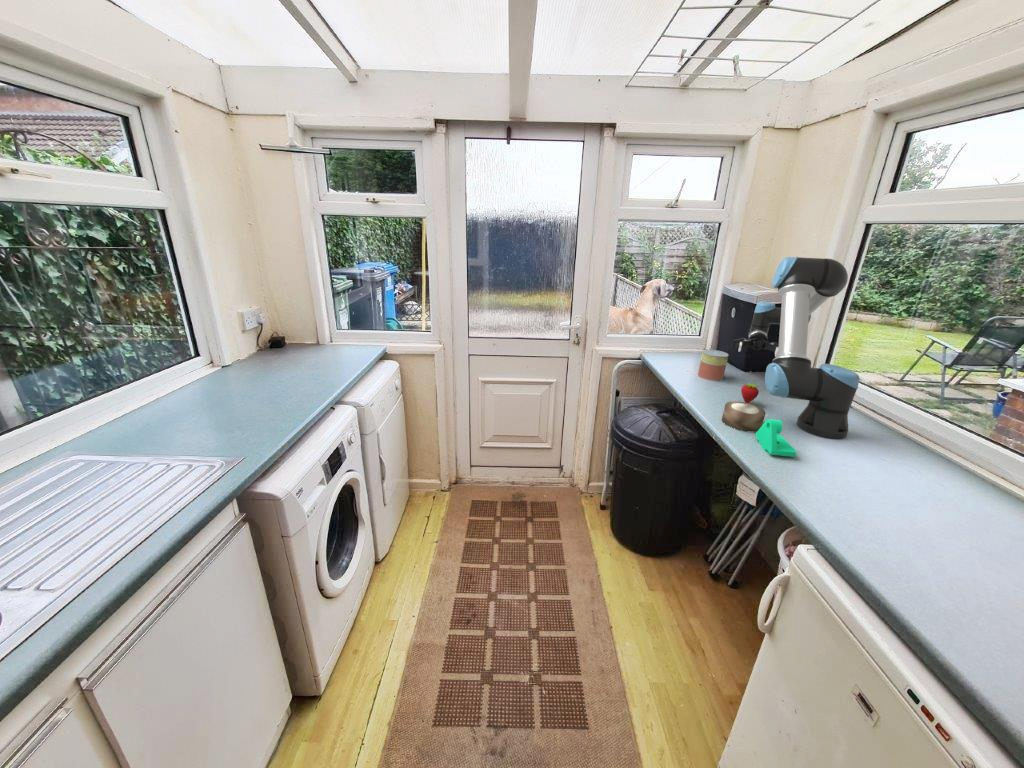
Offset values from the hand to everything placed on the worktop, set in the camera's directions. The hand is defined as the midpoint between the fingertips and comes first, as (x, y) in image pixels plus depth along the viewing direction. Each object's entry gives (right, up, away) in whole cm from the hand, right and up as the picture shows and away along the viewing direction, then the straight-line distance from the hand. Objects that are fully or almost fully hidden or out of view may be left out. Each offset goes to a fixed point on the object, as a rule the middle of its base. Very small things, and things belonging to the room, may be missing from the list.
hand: (758, 351), depth 172 cm
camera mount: (-16, -35, -36) cm, 53 cm away
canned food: (-6, -10, +29) cm, 31 cm away
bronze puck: (-18, -28, -19) cm, 38 cm away
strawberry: (-5, -22, -1) cm, 22 cm away
